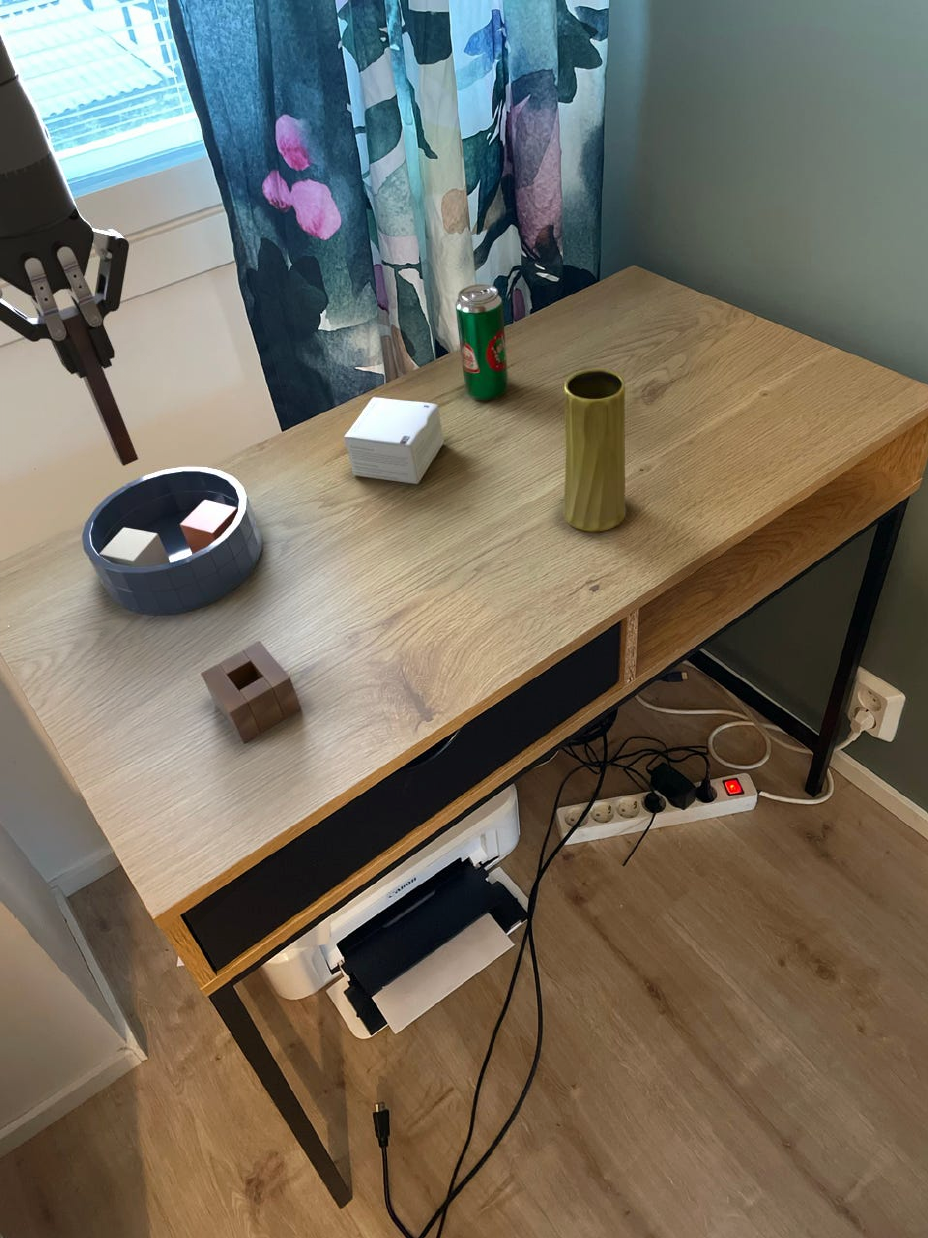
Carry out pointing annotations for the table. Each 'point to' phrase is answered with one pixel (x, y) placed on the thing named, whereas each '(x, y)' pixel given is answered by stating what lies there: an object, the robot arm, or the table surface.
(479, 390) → the soda can
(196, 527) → the terracotta block
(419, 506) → the table surface
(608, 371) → the vase
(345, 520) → the table surface
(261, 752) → the table surface
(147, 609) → the bowl
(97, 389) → the stirring stick
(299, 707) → the stick stand
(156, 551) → the cream block
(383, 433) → the small box
